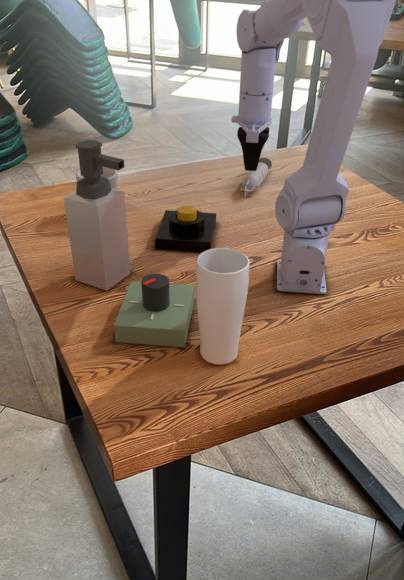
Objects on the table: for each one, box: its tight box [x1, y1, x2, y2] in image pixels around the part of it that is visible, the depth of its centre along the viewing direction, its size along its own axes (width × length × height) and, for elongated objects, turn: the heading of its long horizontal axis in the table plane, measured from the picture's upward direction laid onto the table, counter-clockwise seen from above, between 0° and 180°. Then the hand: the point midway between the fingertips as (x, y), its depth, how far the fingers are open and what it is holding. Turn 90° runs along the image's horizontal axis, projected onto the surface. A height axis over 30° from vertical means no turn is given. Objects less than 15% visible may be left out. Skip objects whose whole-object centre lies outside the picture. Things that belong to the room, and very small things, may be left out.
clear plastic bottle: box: [239, 156, 273, 197], centre depth 126 cm, size 18×5×7 cm, turn 161°
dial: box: [140, 273, 170, 311], centre depth 83 cm, size 4×4×4 cm
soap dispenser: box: [63, 139, 131, 291], centre depth 89 cm, size 6×9×22 cm
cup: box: [75, 167, 119, 190], centre depth 112 cm, size 11×8×8 cm
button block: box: [154, 209, 217, 253], centre depth 107 cm, size 12×10×4 cm
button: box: [176, 205, 198, 222], centre depth 105 cm, size 4×4×2 cm
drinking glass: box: [195, 247, 251, 366], centre depth 76 cm, size 7×7×15 cm
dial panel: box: [113, 280, 195, 348], centre depth 85 cm, size 12×10×3 cm
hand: (250, 169), depth 107 cm, fingers closed
